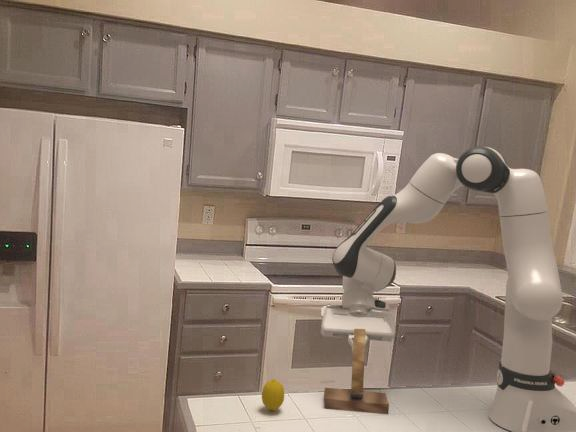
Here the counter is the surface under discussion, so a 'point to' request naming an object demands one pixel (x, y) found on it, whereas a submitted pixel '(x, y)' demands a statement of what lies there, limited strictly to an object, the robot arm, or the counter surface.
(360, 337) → the tan wooden peg
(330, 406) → the brown wooden block
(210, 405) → the counter surface
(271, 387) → the lemon
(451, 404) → the counter surface
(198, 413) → the counter surface
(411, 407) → the counter surface
